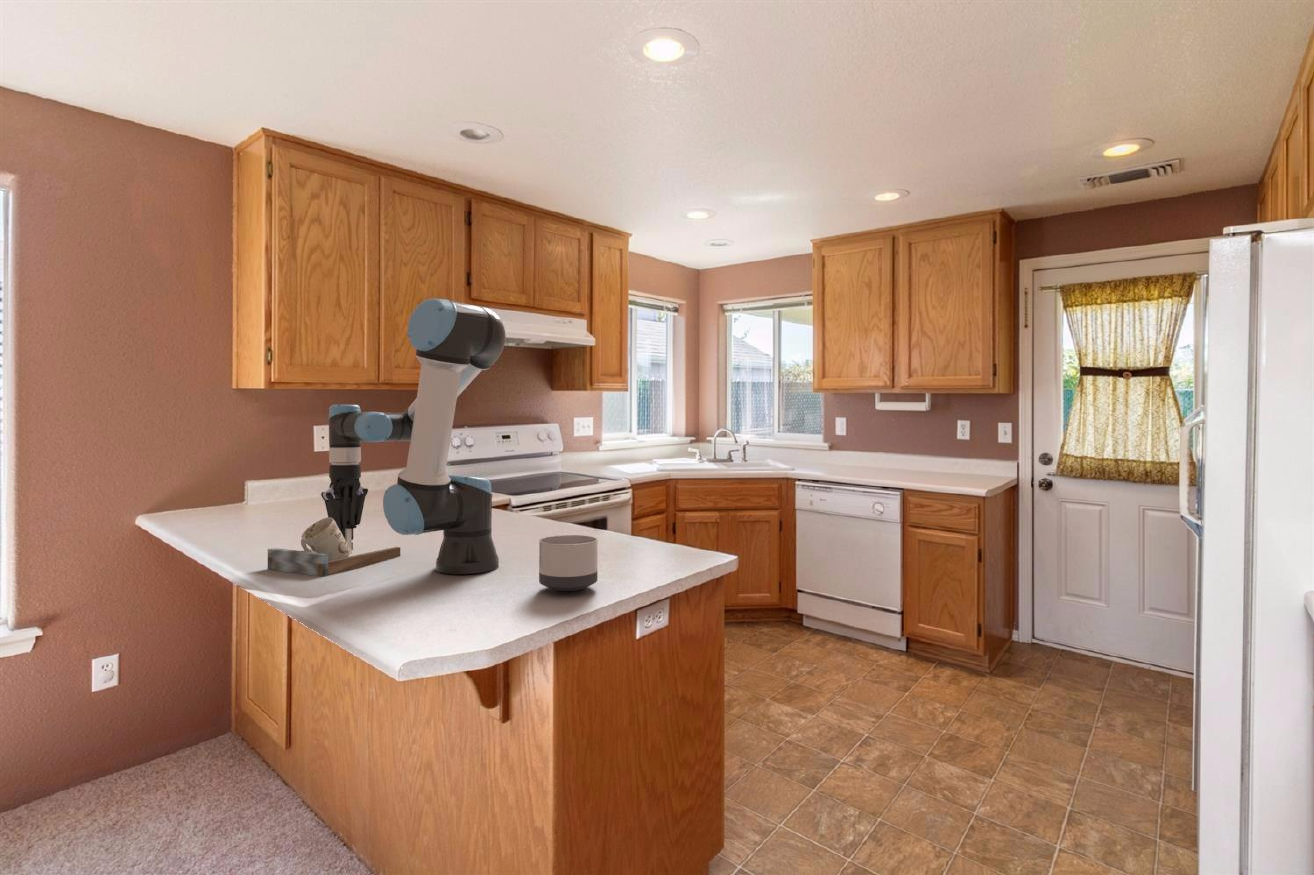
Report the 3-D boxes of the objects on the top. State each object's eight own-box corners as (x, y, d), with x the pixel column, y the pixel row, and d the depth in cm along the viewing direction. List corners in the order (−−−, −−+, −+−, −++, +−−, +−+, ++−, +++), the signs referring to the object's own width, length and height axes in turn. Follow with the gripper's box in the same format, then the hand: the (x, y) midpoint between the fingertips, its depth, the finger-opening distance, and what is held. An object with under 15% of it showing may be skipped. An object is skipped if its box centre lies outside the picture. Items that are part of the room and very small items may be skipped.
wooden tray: (400, 558, 177) (400, 539, 177) (322, 576, 155) (322, 555, 155) (348, 552, 185) (348, 534, 185) (267, 569, 163) (267, 548, 163)
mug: (344, 565, 164) (321, 535, 160) (305, 575, 168) (281, 546, 163) (361, 543, 171) (339, 514, 167) (323, 553, 175) (300, 524, 170)
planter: (545, 579, 153) (545, 534, 153) (600, 580, 153) (600, 535, 153) (533, 593, 140) (533, 544, 140) (593, 594, 140) (593, 544, 140)
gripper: (355, 462, 180) (356, 548, 180) (313, 464, 168) (313, 556, 169) (375, 462, 177) (376, 550, 177) (333, 465, 165) (334, 559, 165)
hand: (345, 553), depth 173 cm, fingers closed
